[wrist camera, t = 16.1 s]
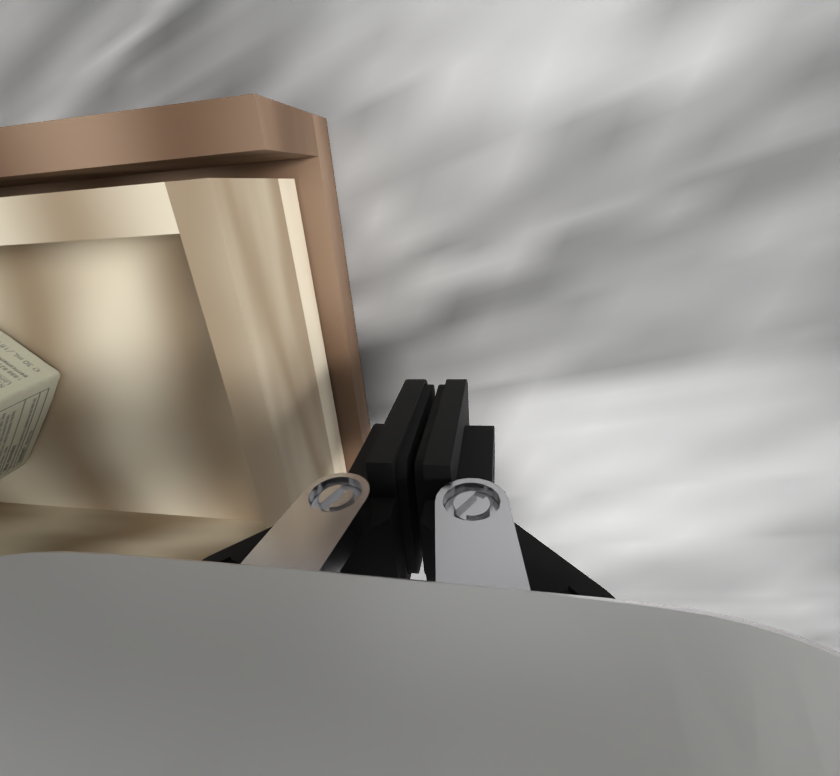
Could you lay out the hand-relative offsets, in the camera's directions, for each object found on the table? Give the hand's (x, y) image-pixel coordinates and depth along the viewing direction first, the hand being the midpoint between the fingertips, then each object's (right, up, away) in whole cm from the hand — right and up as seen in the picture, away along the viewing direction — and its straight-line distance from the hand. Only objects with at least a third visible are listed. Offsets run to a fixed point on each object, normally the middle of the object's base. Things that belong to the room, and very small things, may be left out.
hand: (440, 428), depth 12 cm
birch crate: (-13, +1, +5) cm, 14 cm away
